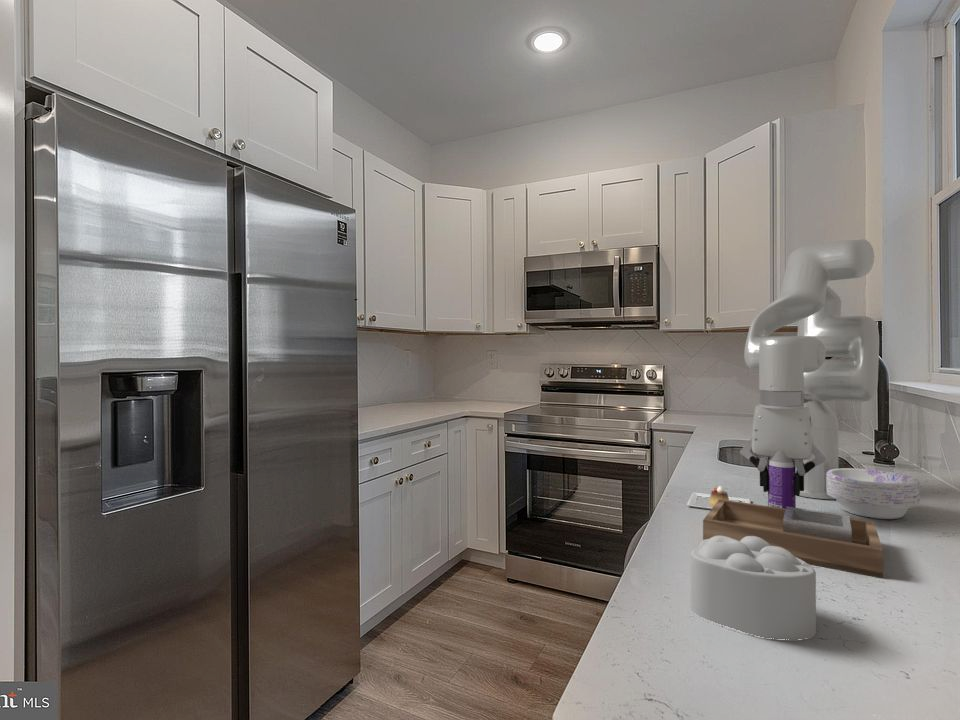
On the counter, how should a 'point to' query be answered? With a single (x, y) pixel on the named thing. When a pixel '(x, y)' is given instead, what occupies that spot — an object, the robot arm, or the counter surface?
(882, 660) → the counter surface
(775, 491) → the container
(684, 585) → the counter surface
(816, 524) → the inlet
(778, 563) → the lumpy-topped squat cylinder
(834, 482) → the paper bowls
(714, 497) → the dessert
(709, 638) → the counter surface
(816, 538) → the walled tray
